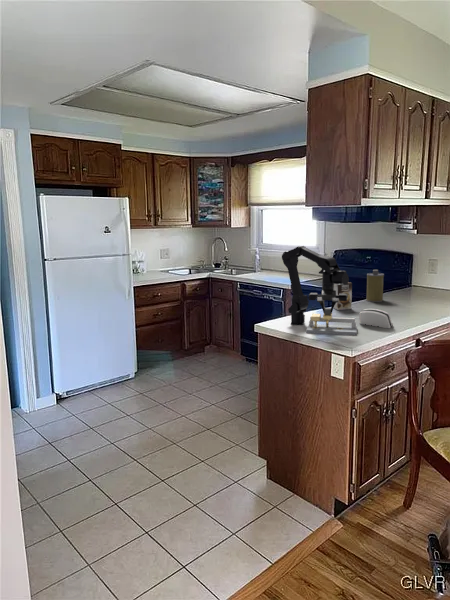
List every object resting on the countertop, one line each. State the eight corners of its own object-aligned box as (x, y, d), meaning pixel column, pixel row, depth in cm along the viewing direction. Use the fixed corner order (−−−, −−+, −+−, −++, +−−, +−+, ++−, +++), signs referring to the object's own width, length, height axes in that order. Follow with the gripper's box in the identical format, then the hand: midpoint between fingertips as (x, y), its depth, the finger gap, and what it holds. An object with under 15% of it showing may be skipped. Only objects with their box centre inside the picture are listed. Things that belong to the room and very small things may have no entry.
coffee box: (337, 310, 271) (338, 283, 268) (333, 308, 277) (333, 282, 274) (351, 309, 273) (352, 282, 269) (347, 306, 279) (347, 281, 276)
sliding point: (322, 327, 226) (323, 309, 224) (324, 324, 232) (324, 306, 230) (331, 328, 225) (331, 310, 223) (332, 324, 231) (332, 307, 229)
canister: (383, 302, 288) (384, 271, 284) (366, 302, 290) (367, 271, 286) (382, 298, 298) (383, 268, 294) (365, 298, 301) (366, 268, 297)
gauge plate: (306, 332, 225) (306, 318, 224) (309, 326, 236) (309, 312, 235) (356, 335, 218) (356, 320, 216) (356, 328, 229) (357, 314, 228)
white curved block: (393, 326, 231) (391, 309, 227) (390, 331, 228) (387, 314, 224) (363, 321, 243) (360, 305, 238) (359, 326, 240) (356, 310, 236)
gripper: (307, 285, 219) (307, 316, 222) (346, 286, 214) (346, 318, 217) (309, 281, 230) (309, 311, 233) (347, 282, 224) (347, 312, 227)
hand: (327, 313), depth 227 cm, fingers closed on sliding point, 3 cm apart
